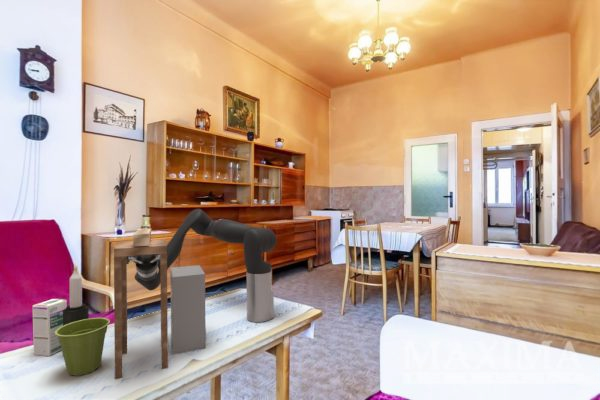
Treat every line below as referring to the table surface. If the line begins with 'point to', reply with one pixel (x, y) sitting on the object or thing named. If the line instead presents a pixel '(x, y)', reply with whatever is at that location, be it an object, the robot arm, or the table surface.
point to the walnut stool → (121, 297)
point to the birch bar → (142, 237)
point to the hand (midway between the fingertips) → (145, 248)
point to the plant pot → (82, 344)
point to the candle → (75, 301)
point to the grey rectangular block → (187, 309)
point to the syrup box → (47, 326)
